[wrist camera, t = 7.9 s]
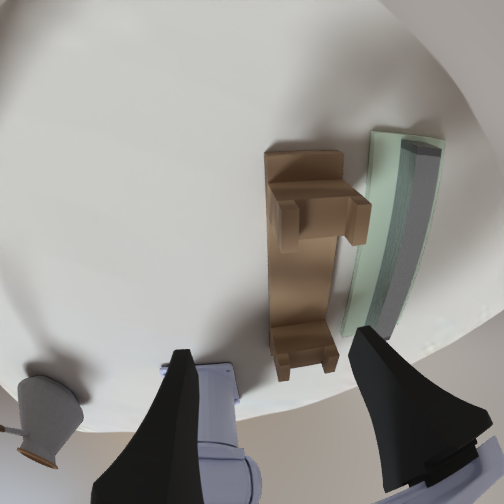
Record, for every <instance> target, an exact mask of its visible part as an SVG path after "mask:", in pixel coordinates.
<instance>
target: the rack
mask: <svg viewBox="0 0 504 504" xmlns="http://www.w3.org/2000/svg"><path fill="white" fill-rule="evenodd" d="M343 158H344V154H343V153H341V152H340V151H338V150H320V151H285V152H266V153H264V162H265V187H266V215H267V247H268V286H269V338H270V352H271V356H273V357H274V362H275V366H276V371H277V376H278V381H279V382H282V381H288V380H289V376H290V369H291V368H297V367H303V366H309V365H314V364H319V363H321V364H322V367H323V370H324V373H325V374H326V373H330V372H335V368H336V365H337V362H338V359H339V353H338V350H337V348H336V345H335V343H334V340H333V338H332V335H331V333H330V330H329V328H328V326H327V323H326V321H325V318H326V312H327V306H328V300H329V294H330V287H331V280H332V273H333V266H334V259H335V251H336V242H337V236H345V237H346V238H347V240H348V241H349V242H350V244H351V245H352V246H356V245H365V244H366V241H367V235H368V229H369V223H370V216H371V209H372V204H371V203H370V202H369V201H368V200H367V199H365V198H364V197H363V196H362V195H361V194H360V193H358V192H357V191H356V190H355V189H354V188H352V187H351V186H350V185H349V184H348V183H346V182H345V181H344V180H343V179H342V176H343Z"/></svg>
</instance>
